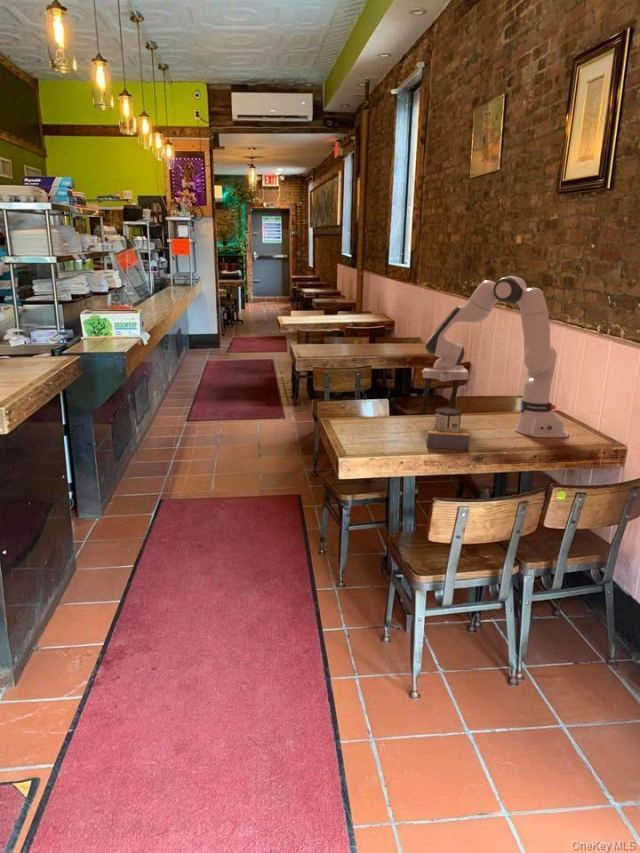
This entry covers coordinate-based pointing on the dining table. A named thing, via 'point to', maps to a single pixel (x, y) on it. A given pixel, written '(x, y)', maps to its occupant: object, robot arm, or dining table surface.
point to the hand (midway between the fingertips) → (446, 377)
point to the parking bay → (447, 440)
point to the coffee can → (448, 420)
